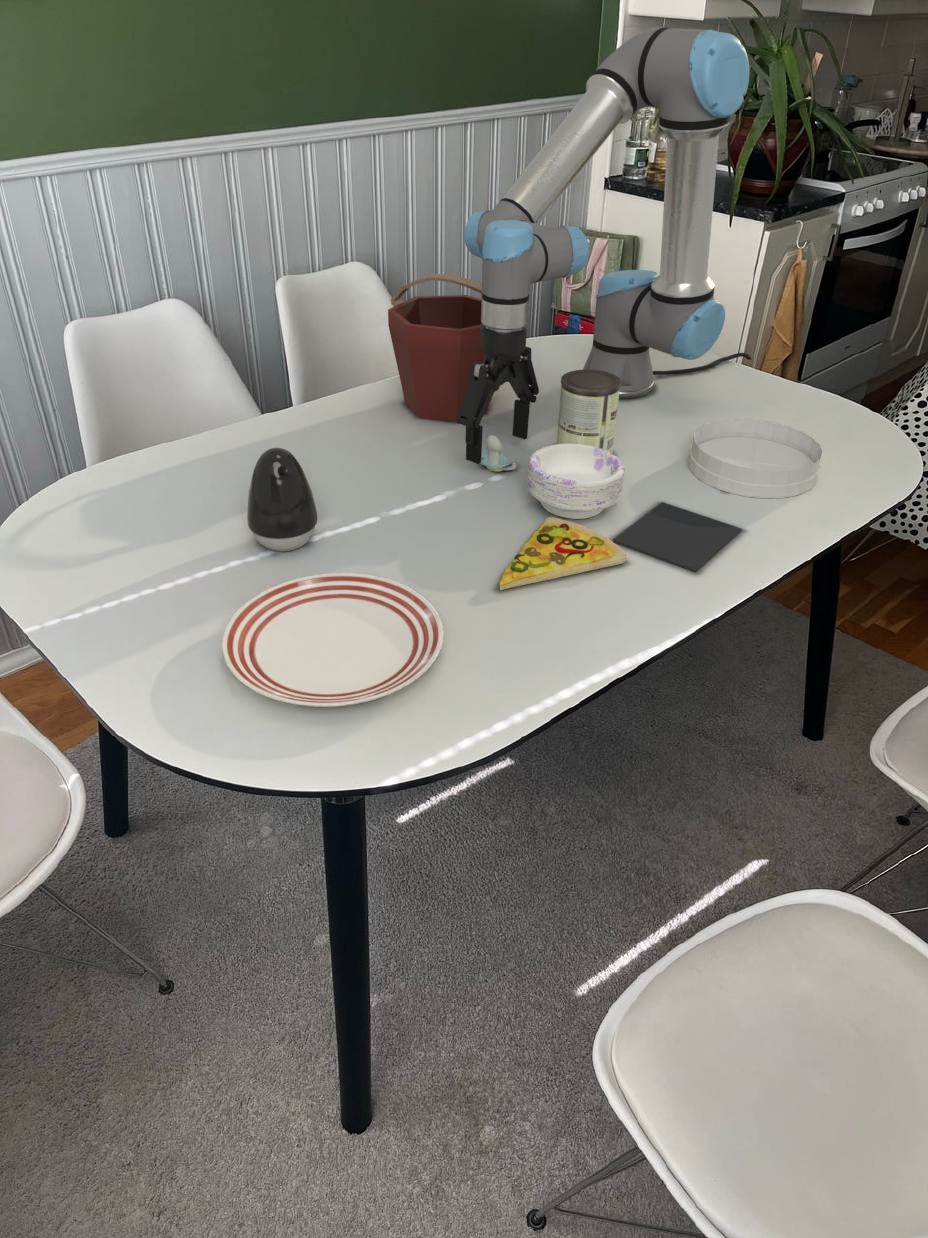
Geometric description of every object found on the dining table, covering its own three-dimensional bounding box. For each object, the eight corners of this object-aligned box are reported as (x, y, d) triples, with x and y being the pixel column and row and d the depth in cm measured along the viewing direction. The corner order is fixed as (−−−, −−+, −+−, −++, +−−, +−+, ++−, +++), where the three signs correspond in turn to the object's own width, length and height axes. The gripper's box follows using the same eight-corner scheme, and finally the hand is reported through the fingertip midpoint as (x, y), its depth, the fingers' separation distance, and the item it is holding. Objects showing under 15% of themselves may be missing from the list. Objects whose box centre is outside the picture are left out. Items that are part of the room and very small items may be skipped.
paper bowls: (637, 506, 154) (644, 461, 150) (581, 538, 145) (586, 492, 140) (564, 476, 162) (568, 433, 158) (506, 505, 153) (509, 460, 149)
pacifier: (495, 456, 169) (470, 464, 166) (497, 423, 166) (472, 430, 162) (524, 469, 165) (500, 478, 161) (527, 435, 161) (502, 444, 158)
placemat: (661, 504, 155) (662, 502, 155) (741, 530, 148) (742, 528, 148) (612, 541, 144) (612, 539, 144) (695, 572, 137) (696, 570, 137)
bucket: (530, 407, 188) (538, 278, 174) (457, 440, 174) (460, 303, 160) (438, 376, 201) (439, 254, 187) (364, 405, 187) (359, 275, 173)
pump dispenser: (263, 566, 136) (251, 470, 128) (242, 534, 144) (230, 442, 135) (329, 551, 140) (322, 457, 132) (305, 520, 148) (298, 430, 139)
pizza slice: (632, 559, 140) (635, 542, 138) (539, 613, 128) (541, 594, 126) (553, 522, 149) (555, 505, 147) (460, 569, 137) (460, 551, 135)
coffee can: (555, 441, 175) (561, 367, 167) (611, 444, 174) (620, 370, 166) (554, 465, 166) (560, 388, 158) (613, 469, 165) (622, 391, 157)
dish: (682, 487, 160) (687, 460, 157) (692, 437, 177) (696, 411, 175) (819, 506, 155) (826, 478, 152) (815, 452, 173) (821, 426, 170)
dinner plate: (450, 717, 110) (450, 695, 108) (210, 727, 107) (206, 704, 106) (437, 590, 132) (437, 569, 130) (238, 595, 130) (235, 575, 128)
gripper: (528, 304, 161) (520, 422, 173) (436, 338, 145) (434, 465, 157) (565, 313, 158) (554, 432, 169) (475, 349, 141) (470, 478, 153)
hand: (497, 448), depth 163 cm, fingers open, 13 cm apart
